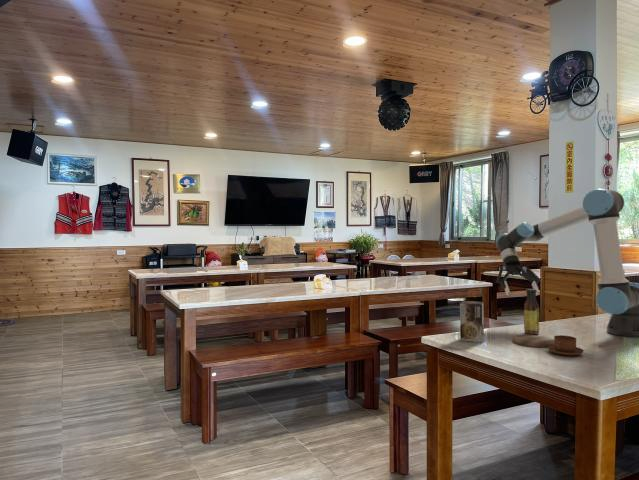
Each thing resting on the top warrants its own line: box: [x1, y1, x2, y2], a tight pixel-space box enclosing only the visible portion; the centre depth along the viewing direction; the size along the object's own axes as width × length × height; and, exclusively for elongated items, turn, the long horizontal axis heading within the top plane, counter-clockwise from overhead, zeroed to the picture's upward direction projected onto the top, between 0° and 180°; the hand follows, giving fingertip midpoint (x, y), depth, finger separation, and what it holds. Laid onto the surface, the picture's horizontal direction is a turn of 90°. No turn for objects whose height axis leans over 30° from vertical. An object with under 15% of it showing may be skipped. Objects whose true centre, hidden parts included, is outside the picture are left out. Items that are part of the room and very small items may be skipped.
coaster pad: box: [512, 334, 554, 349], centre depth 192 cm, size 16×16×2 cm
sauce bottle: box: [523, 288, 540, 335], centre depth 210 cm, size 6×6×20 cm
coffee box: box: [459, 300, 485, 343], centre depth 197 cm, size 9×6×16 cm
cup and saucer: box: [547, 335, 584, 357], centre depth 175 cm, size 12×12×6 cm
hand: (522, 293), depth 218 cm, fingers open, 13 cm apart
